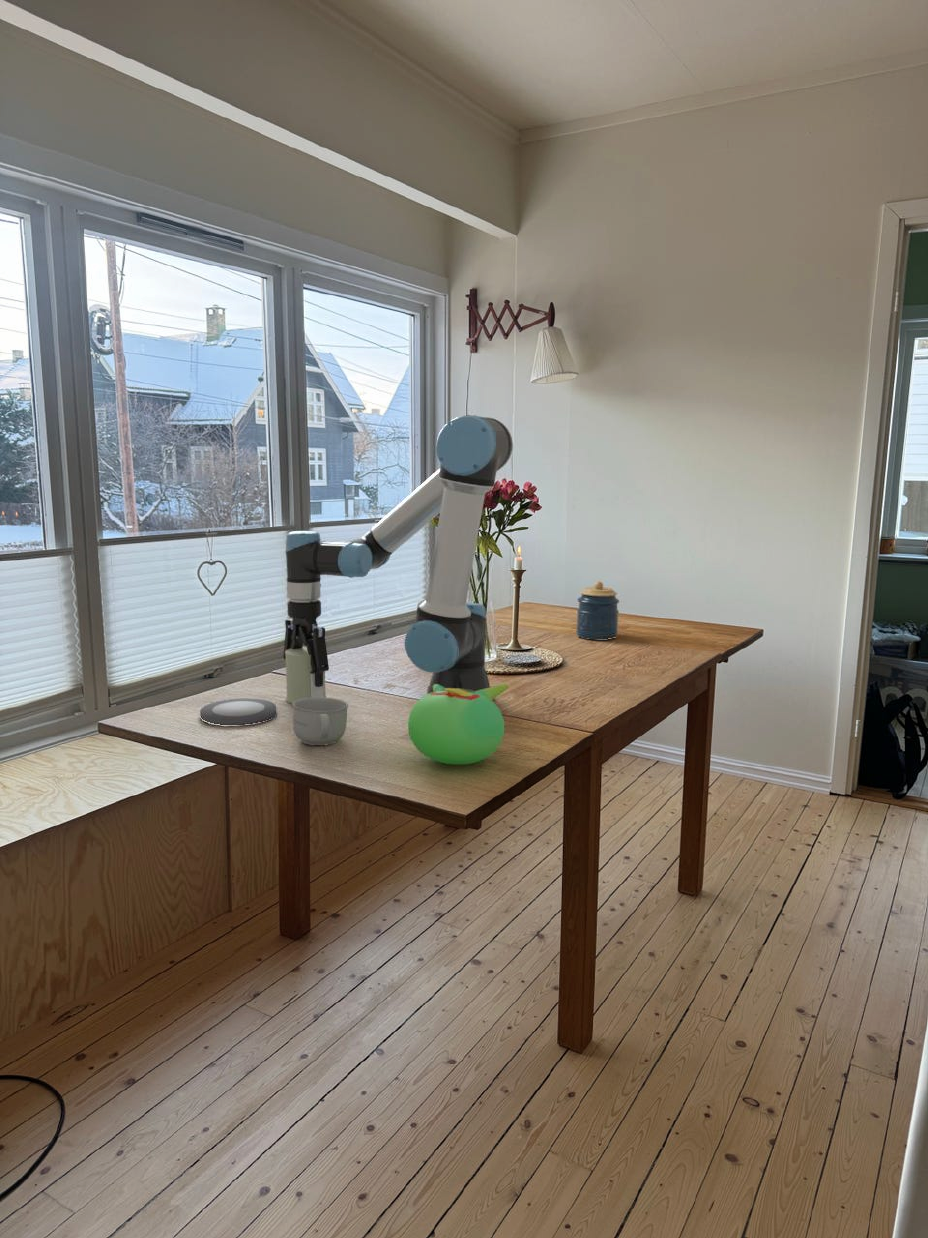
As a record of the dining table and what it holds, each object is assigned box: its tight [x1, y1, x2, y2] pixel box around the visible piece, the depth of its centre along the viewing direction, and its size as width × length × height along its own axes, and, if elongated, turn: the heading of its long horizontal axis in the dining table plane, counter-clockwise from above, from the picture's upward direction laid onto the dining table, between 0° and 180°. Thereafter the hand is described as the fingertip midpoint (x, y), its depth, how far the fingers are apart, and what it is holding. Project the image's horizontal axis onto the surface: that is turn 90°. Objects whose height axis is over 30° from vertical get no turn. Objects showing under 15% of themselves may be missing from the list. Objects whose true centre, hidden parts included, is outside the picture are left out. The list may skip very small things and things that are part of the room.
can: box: [285, 646, 327, 705], centre depth 202 cm, size 9×9×12 cm
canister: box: [575, 580, 620, 639], centre depth 275 cm, size 13×13×18 cm
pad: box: [199, 698, 277, 725], centre depth 190 cm, size 16×16×2 cm
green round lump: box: [407, 684, 510, 766], centre depth 163 cm, size 18×17×15 cm
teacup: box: [292, 697, 349, 746], centre depth 172 cm, size 14×11×8 cm
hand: (306, 695), depth 203 cm, fingers closed on can, 9 cm apart
